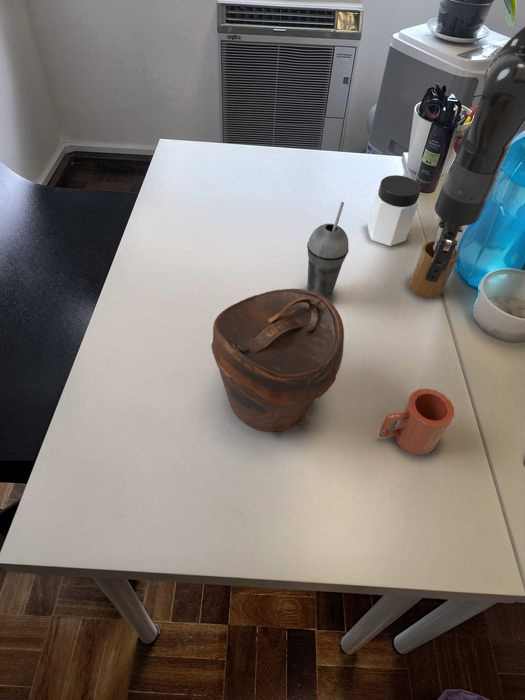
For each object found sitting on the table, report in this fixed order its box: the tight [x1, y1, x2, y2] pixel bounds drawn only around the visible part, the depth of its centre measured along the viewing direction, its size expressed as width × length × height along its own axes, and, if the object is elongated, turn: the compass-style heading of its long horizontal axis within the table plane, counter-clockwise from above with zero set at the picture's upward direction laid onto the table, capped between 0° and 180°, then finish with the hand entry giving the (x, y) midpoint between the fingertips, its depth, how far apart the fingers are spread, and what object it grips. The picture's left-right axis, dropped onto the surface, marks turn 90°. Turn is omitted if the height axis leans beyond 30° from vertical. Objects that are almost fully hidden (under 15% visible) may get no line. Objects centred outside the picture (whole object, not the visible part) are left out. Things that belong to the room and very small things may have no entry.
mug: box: [377, 388, 455, 456], centre depth 68 cm, size 9×6×8 cm, turn 99°
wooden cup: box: [409, 240, 459, 300], centre depth 90 cm, size 6×6×9 cm
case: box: [210, 288, 345, 432], centre depth 68 cm, size 18×20×18 cm
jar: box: [367, 174, 422, 247], centre depth 100 cm, size 9×8×12 cm
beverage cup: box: [306, 201, 349, 301], centre depth 83 cm, size 7×7×20 cm
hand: (433, 266), depth 89 cm, fingers open, 8 cm apart
